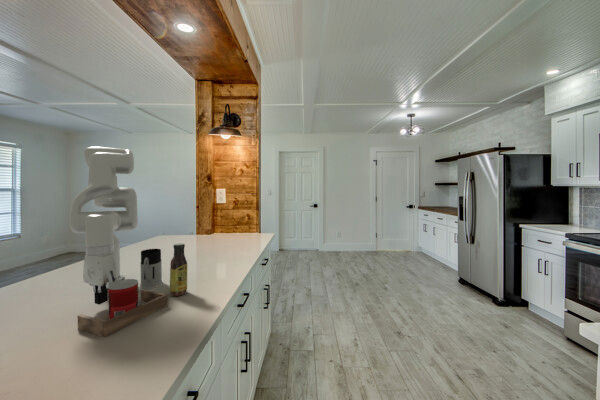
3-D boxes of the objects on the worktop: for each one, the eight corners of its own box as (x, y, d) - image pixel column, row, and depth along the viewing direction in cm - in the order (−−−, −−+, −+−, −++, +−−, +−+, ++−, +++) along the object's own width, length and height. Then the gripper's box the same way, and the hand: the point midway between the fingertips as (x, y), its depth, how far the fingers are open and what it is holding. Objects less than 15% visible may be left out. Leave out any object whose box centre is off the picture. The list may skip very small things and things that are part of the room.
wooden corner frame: (77, 329, 75) (77, 315, 74) (143, 300, 94) (143, 289, 94) (105, 337, 70) (105, 323, 70) (167, 305, 90) (167, 294, 90)
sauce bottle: (180, 297, 97) (179, 246, 96) (166, 296, 98) (165, 245, 97) (191, 291, 103) (190, 243, 103) (177, 289, 104) (177, 242, 104)
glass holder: (164, 280, 115) (164, 247, 115) (157, 292, 102) (157, 255, 101) (142, 282, 113) (142, 249, 112) (132, 294, 99) (131, 257, 99)
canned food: (143, 314, 84) (142, 281, 83) (115, 324, 77) (115, 289, 77) (131, 308, 88) (130, 277, 87) (104, 318, 81) (103, 284, 80)
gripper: (73, 250, 85) (74, 303, 86) (103, 255, 80) (104, 311, 81) (97, 245, 92) (98, 294, 93) (126, 249, 87) (127, 301, 88)
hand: (101, 302), depth 87 cm, fingers closed
